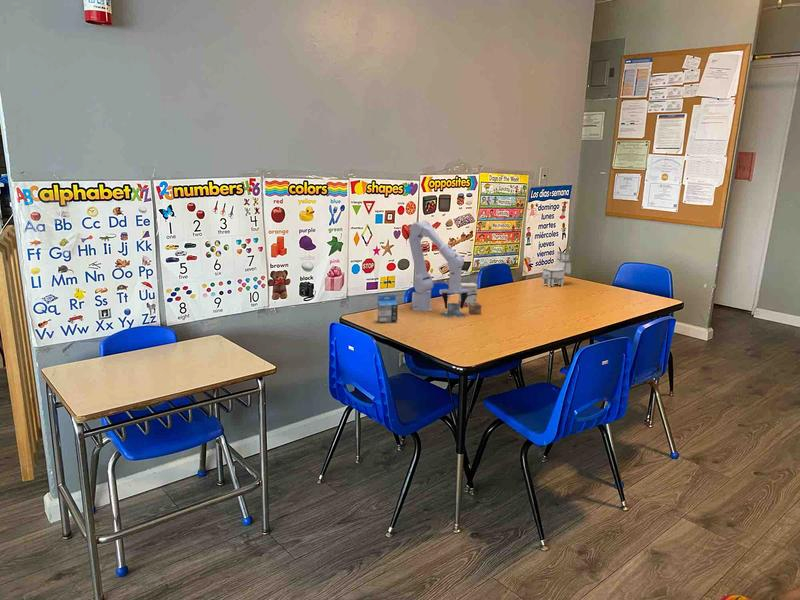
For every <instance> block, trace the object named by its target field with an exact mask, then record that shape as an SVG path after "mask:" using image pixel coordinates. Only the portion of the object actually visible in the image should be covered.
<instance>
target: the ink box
mask: <svg viewBox="0 0 800 600" xmlns="http://www.w3.org/2000/svg"><path fill="white" fill-rule="evenodd" d="M461 289H469V290H470V294H467V295H468V296H467V298H466V300H465V302H464V305H463V308H466V307H467V308H469V303H477V299H478V298H477V297H478V284H477V283H476V282H461ZM457 303H458V304H459V305H460V304H461V294H458V302H457Z"/></svg>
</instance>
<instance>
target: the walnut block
mask: <svg viewBox="0 0 800 600" xmlns="http://www.w3.org/2000/svg"><path fill="white" fill-rule="evenodd" d="M468 313H469V314H470V316H471V315H472V316H473V315H474V316H475V315H482V304H481V303H480V302H476V303H469V307H468Z"/></svg>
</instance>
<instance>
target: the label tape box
mask: <svg viewBox="0 0 800 600" xmlns="http://www.w3.org/2000/svg"><path fill="white" fill-rule="evenodd" d="M396 297H397V295H396V294H386V295H384V294H382V295H377V322H378V321H379V322H385V323H398V314H399V313H398V312H399V311H398V310H399V308H398V306H399V305H398V302H397V300H396V299H397V298H396ZM379 322H378V323H379Z"/></svg>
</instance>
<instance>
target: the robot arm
mask: <svg viewBox="0 0 800 600" xmlns="http://www.w3.org/2000/svg"><path fill="white" fill-rule="evenodd" d="M424 237H425V238H428V239H429V240H430V241H431V242H432V243H433V244H434V245H435V246H436V247H437V248H438V252H439V254H440V255H441V256H442V257H443V258H444V260H445V261H446V262H447V266H448V268H449V277H448V288H443V289H439V294H440V295H441V297H442V299H443V303H444V309H446V310H448V299H449V296H448V294H449V295H450V294H452V295H459V294H461V304H460V309H462V310H463V309H464V307H463V305H464V302H465V300H466V298H467V296H468V295H467V294H470V290H469V289H461V283H462V268H463V266H464V264H465V260H464V258H463V256H462V255H459V254H458V253H457V252H455V250H454V249H453V248H452V246H451V244H450V245H449V244H448V243H445V242H444V241H443V239H441V238H440V236H439V234H437V232H436V231H435V230H434V226H433V225H432V224H431V223H430V222H429V221H427V220H423V221H417V222H413V223H412V224H411V225H410V227H409V236H408V242H409V246H410V250H411V251H410V252H411V256H412V260H413V265H414V269H415V277H414V278H413V280H414V284H413V285H414V287H413V288H414V289H415V291H412V293H411V294H412V295H411V309H412V311H414V312H418V311H419V312H420V311H421V312H422V311H423V312H424V311H425V312H427V311H431V312H432V311H433V309H432V307H431V299H432V289H433V288H434V286H435V283H434V279H432V277H431V274H430V273H429V272H428V270H427V265H426V261H425V257H424V252H423V247H422V243H421V242H422V239H424Z"/></svg>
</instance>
